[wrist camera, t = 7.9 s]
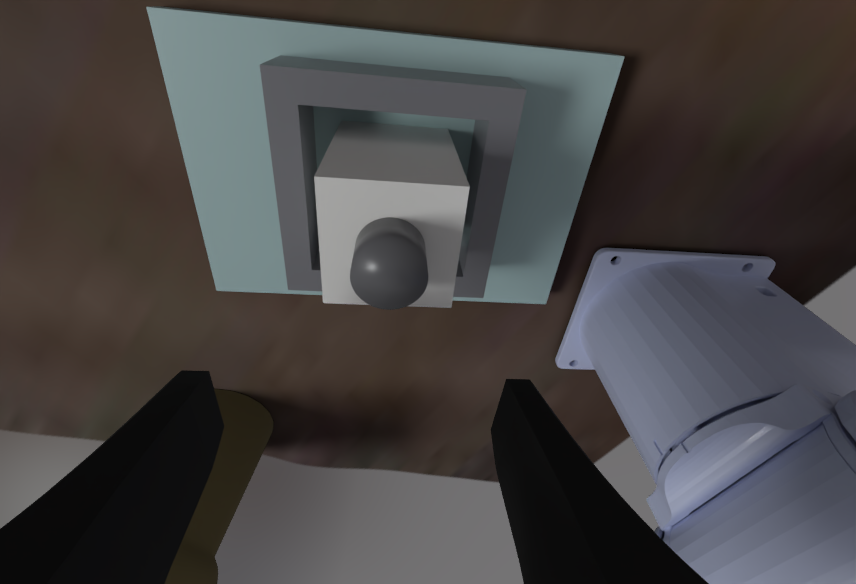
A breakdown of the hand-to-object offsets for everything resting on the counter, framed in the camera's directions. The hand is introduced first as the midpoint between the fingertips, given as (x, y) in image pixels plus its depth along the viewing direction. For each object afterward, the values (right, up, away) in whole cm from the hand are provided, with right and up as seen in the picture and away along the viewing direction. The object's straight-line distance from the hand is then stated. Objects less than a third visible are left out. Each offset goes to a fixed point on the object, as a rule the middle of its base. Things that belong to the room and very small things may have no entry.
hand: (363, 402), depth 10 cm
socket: (0, +8, +7) cm, 11 cm away
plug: (0, +7, +6) cm, 10 cm away
